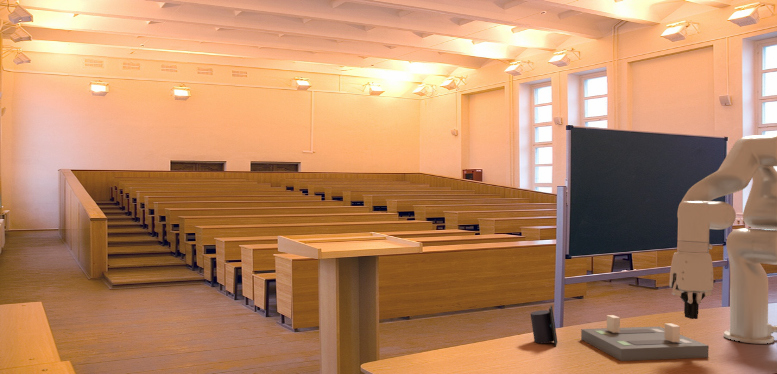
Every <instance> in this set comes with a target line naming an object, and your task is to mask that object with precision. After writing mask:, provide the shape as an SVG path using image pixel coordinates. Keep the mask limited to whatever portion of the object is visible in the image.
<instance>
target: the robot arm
mask: <svg viewBox="0 0 777 374" xmlns="http://www.w3.org/2000/svg"><path fill="white" fill-rule="evenodd" d="M775 167H777V134H764V135H763V134H762V135H761V134H760V135H748V136H744V137H740V138H739V139H737V140H736V141H735V142H734V144H733V145H732V146H731V148H730V150H729V152H728V153H727V155H726V157H725V158H724V160H722V163H721V165H720V166H719V168H718V169H717V170H716V171H715V172H712V173H711V174H709V175H707V176H706V177H704V178H702V179H701V180H699V181H698V182H696V183H695V184H693V185H692V186H691V187H690V188H688V190H687V192H686V193H685V194H684V196H683V198H682V199H681V201H680V202H679V205H678V208H677V215H676V217H677V246H676V248H677V250H676V252H674V253H673V255H672V258H671V264H670V270H669V271H670V272H669V281H668V282H669V283H668V285H669V288H670V289H672V290H671V295H673V296H678V297H680V299H681V300H682V302H683V303H684V304H683V305H684V306H683V307H684V309H683V311H684V312H683V314H684V317H685V318H688V319H690V320H698V318H699V307H700V306H699V304H700V305H701V304H702V301H703V299H704V298H706V297H710V296H712V294H713V293H712V290H713V289H714V266H713V259H712V255H711V254H712V253H711V254H710V250H712V249H713V244H711V243H710V230H725V229H728V228H730V227H731V226H733V225H734V223H735V221H736V211H735V209H734V207H733V206H732V205H731V204H730V203H728V202H725V201H718V200H715V199H718V198H721V197H724V196H728V195H732V194H734V193H737V192H740V191H742V190H744V189H746V188H748V186H749V184H750V183H751V181H752V184H751V187H750V190H749V194H748V196H747V199H746V203H745V205H744V207H743V211H742V222H744V224H745V225H746V226H748V227H749V228H748V227H747V228H746V227H744V228H743V227H742V228H737V229H734V230H732V231H731V232H730V233H729V234H728V236H727V238H726V252H727V255H728V261H729V275H730V279H729V281H730V282H729V329H728V330H725V331H724V332H723V337H724V338H725V339H728V340H730V339H731V340H730V341H734V340H735V341H734V342H738V341H740V343H746V344H756V345H757V344H759V345H763V344H764V345H765V344H767V343H768V344H772V343H774V342H775V337H774V336H773V335H772V334H774V333H777V325H772V324H771V323H769V277H768V274H767V273H766V271H765V269H764V267H763V266H762V264H764V265H765V264H766V265H775V266H777V170H776V168H775Z"/></svg>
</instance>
